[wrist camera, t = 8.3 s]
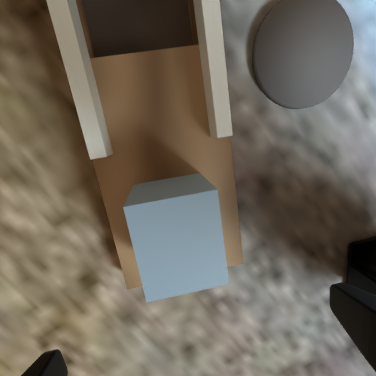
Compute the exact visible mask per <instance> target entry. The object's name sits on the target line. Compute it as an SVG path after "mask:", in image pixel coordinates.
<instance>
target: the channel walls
mask: <svg viewBox="0 0 376 376" xmlns="http://www.w3.org/2000/svg"><path fill="white" fill-rule="evenodd" d="M46 1H47V5H48V8H49V12H50V16H51V19H52V23H53V26H54V30H55V34H56V37H57V41H58V45H59V48H60V52H61V55H62V59H63V63H64V66H65V70H66V74H67V77H68V81H69V84H70V88H71V92H72V95H73V99H74V103H75V106H76V110H77V114H78V117H79V121H80V124H81V128H82V132H83V135H84V139H85V143H86V146H87V150H88V153H89V157H90V160H91V159H96V158H102V157H107V156H109V155H112V154H113V151H112V147H111V142H110V138H109V134H108V130H107V126H106V122H105V118H104V114H103V110H102V106H101V102H100V98H99V94H98V90H97V85H96V81H95V77H94V73H93V69H92V65H91V61H90V57H89V53H88V49H87V45H86V41H85V37H84V33H83V29H82V24H81V20H80V16H79V12H78V8H77V4H76V0H46ZM193 2H194V10H195V18H196V26H197V34H198V42H199V50H200V58H201V66H202V74H203V82H204V90H205V98H206V106H207V114H208V122H209V130H210V137H211V138H221V137H227V136H233V133H232V123H231V113H230V103H229V92H228V82H227V72H226V62H225V52H224V42H223V32H222V21H221V11H220V1H219V0H193Z"/></svg>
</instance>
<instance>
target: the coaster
mask: <svg viewBox="0 0 376 376" xmlns="http://www.w3.org/2000/svg"><path fill="white" fill-rule="evenodd" d="M353 47H354V41H353V31H352V27H351V23H350V20H349V18H348V16H347V14H346V12H345V10H344V9H343V7H342V6H341V5H340V4H339V3H338V2H337V1H336V0H281V1H280V2H279V3H278V4H277V5H276V6H275V7H274V8H273V9H272V10H271V11H270V12H269V13H268V14H267V16H266V17H265V18H264V20H263V22H262V23H261V25H260V27H259V29H258V31H257V34H256V37H255V41H254V46H253V69H254V73H255V77H256V79H257V82H258V84H259V86H260V88H261V89H262V91H263V92H264V94H265V95H266V96H267V97H268V98H269V99H270V100H272V101H273V102H274V103H276V104H278V105H280V106H283V107H286V108H291V109H300V108H307V107H311V106H314V105H317V104H319V103H321V102H323V101H324V100H326V99H327V98H328V97H330V96H331V95H332V94H333V93H334V92H335V91H336V90H337V89H338V87H339V86H340V85H341V83H342V82H343V80H344V78H345V76H346V74H347V72H348V70H349V67H350V64H351V60H352V55H353Z"/></svg>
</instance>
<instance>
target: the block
mask: <svg viewBox="0 0 376 376" xmlns="http://www.w3.org/2000/svg"><path fill="white" fill-rule="evenodd" d="M123 209H124V213H125V217H126V221H127V225H128V229H129V233H130V237H131V241H132V245H133V249H134V253H135V257H136V261H137V265H138V269H139V274H140V278H141V282H142V286H143V290H144V294H145V298H146V302H147V303H148V302H152V301H156V300H161V299H165V298H169V297H174V296H178V295H183V294H187V293H191V292H196V291H200V290H204V289H209V288H213V287H217V286H222V285H226V284H229V279H228V271H227V262H226V254H225V246H224V238H223V229H222V221H221V213H220V205H219V197H218V189H217V188H216V187H215V186H213V185H212V184H211V183H210V182H209V181H208V180H207V179H206V178H205V177H204V176H203V175H202V174H201V173H196V174H191V175H185V176H179V177H174V178H168V179H163V180H157V181H151V182H146V183H140V184H135V185H133V187H132V189H131V191H130V193H129V195H128V198H127V200H126V202H125V204H124V206H123Z"/></svg>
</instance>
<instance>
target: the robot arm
mask: <svg viewBox="0 0 376 376" xmlns="http://www.w3.org/2000/svg"><path fill="white" fill-rule="evenodd" d="M330 308H331V310H332V312H333V313H334V315H335V316H336V318H337V319H338V320H339V322H340V323H341V325H342V326H343V328H344V329H345V330H346V332H347V333H348V335H349V336H350V338H351V339H352V340H353V342H354V343H355V345H356V346H357V348H358V349H359V350H360V352H361V353H362V355H363V356H364V357H365V359H366V360H367V361H368V363H369V364H370V365H371V366H372V368H373V369H374V370H375V371H376V237H374V238H370V239H365V240H361V241H356V242H353V243H351V244H350V245H349V253H348V275H347V284H346V283H337V284H333V285H331V287H330ZM67 375H68V371H67V366H66V364H65V361H64V359H63V356H62V354H61V352H60V350H58V349H56V350H52V351H47V352H45V353H43V354H42V355H41V356H40V357H39V358H38V359H37V360H36V361H35V362H34V363H33V364H32V365H31V366H30V367H29V368H28V369H27V370H26V371H25V372H24V373H23V374H22V375H21V376H67Z"/></svg>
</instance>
